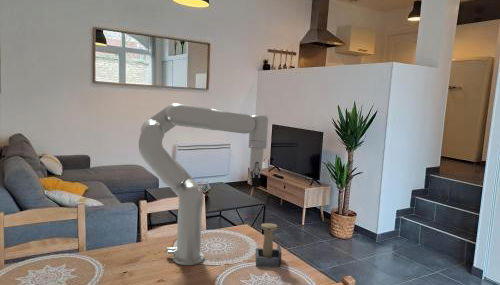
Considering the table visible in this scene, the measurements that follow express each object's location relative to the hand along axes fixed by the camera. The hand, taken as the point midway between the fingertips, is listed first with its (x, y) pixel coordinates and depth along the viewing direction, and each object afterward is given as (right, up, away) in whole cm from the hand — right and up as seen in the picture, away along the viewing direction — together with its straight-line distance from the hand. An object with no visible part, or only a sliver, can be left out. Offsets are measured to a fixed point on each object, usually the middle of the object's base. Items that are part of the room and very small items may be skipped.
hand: (255, 184), depth 150 cm
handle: (+5, -31, -4) cm, 32 cm away
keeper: (+5, -31, -4) cm, 32 cm away
